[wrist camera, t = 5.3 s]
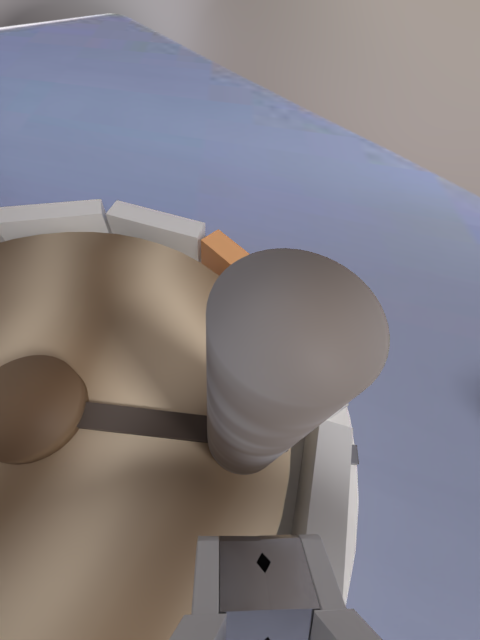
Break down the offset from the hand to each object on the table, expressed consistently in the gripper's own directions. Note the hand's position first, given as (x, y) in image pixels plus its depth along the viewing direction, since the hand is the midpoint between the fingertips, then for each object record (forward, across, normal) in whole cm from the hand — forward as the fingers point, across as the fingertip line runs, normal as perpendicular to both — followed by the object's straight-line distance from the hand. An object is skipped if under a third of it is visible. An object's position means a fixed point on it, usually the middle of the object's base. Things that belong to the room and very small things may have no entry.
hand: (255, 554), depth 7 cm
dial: (+7, +8, +1) cm, 11 cm away
